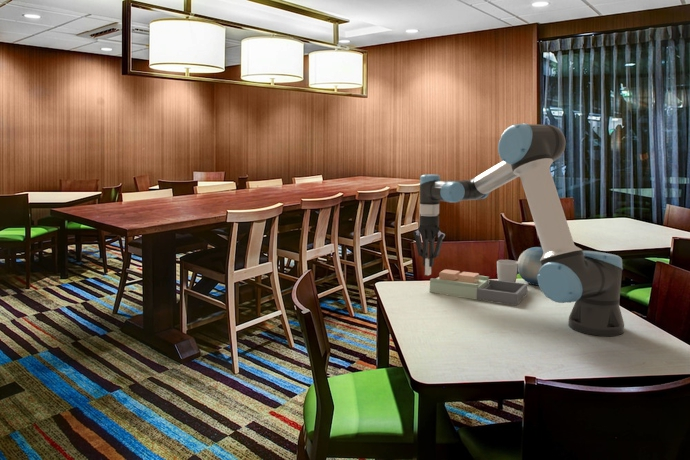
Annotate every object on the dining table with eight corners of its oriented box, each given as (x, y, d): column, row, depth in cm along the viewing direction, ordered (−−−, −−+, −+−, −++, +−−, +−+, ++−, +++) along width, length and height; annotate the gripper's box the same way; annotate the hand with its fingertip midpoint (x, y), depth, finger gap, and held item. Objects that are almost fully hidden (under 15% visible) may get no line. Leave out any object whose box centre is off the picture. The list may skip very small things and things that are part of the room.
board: (476, 299, 187) (477, 285, 186) (429, 292, 196) (429, 278, 196) (488, 289, 200) (488, 276, 199) (443, 283, 209) (444, 270, 208)
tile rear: (454, 282, 195) (454, 274, 195) (439, 280, 198) (439, 272, 198) (459, 278, 200) (459, 271, 200) (444, 276, 204) (445, 269, 203)
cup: (520, 289, 199) (521, 264, 198) (499, 289, 200) (500, 264, 198) (513, 284, 207) (515, 259, 206) (493, 284, 208) (494, 259, 206)
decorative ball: (553, 291, 197) (555, 252, 195) (512, 286, 205) (514, 248, 202) (558, 282, 210) (561, 245, 208) (520, 277, 217) (522, 242, 215)
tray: (516, 305, 179) (517, 294, 179) (476, 299, 187) (477, 288, 186) (526, 294, 193) (527, 283, 192) (489, 289, 200) (489, 279, 199)
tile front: (473, 284, 192) (474, 276, 191) (458, 282, 195) (458, 274, 194) (478, 281, 197) (479, 273, 196) (463, 279, 200) (463, 271, 199)
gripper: (448, 214, 200) (447, 274, 204) (417, 212, 207) (416, 270, 210) (441, 216, 194) (440, 278, 197) (409, 214, 200) (408, 274, 204)
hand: (428, 274), depth 204 cm, fingers closed
